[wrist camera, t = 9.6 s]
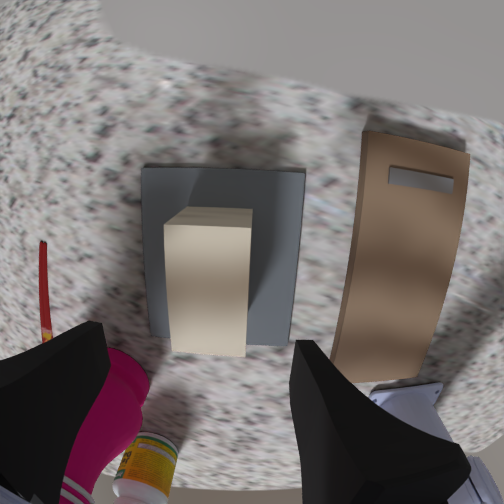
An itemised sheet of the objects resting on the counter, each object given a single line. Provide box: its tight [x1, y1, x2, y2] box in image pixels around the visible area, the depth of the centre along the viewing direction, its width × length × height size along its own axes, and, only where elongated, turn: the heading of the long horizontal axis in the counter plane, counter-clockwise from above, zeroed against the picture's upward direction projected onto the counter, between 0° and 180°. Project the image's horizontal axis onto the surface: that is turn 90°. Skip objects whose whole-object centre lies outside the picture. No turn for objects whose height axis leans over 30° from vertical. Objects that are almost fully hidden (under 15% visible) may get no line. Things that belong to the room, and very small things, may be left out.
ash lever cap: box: [164, 206, 253, 357], centre depth 17 cm, size 7×4×5 cm, turn 177°
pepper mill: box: [59, 348, 149, 504], centre depth 14 cm, size 7×7×20 cm
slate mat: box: [141, 167, 305, 346], centre depth 20 cm, size 12×10×1 cm
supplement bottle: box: [113, 432, 178, 504], centre depth 22 cm, size 5×5×10 cm
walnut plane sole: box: [330, 131, 470, 383], centre depth 19 cm, size 18×8×1 cm, turn 177°
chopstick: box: [39, 241, 53, 343], centre depth 23 cm, size 2×24×1 cm, turn 166°
